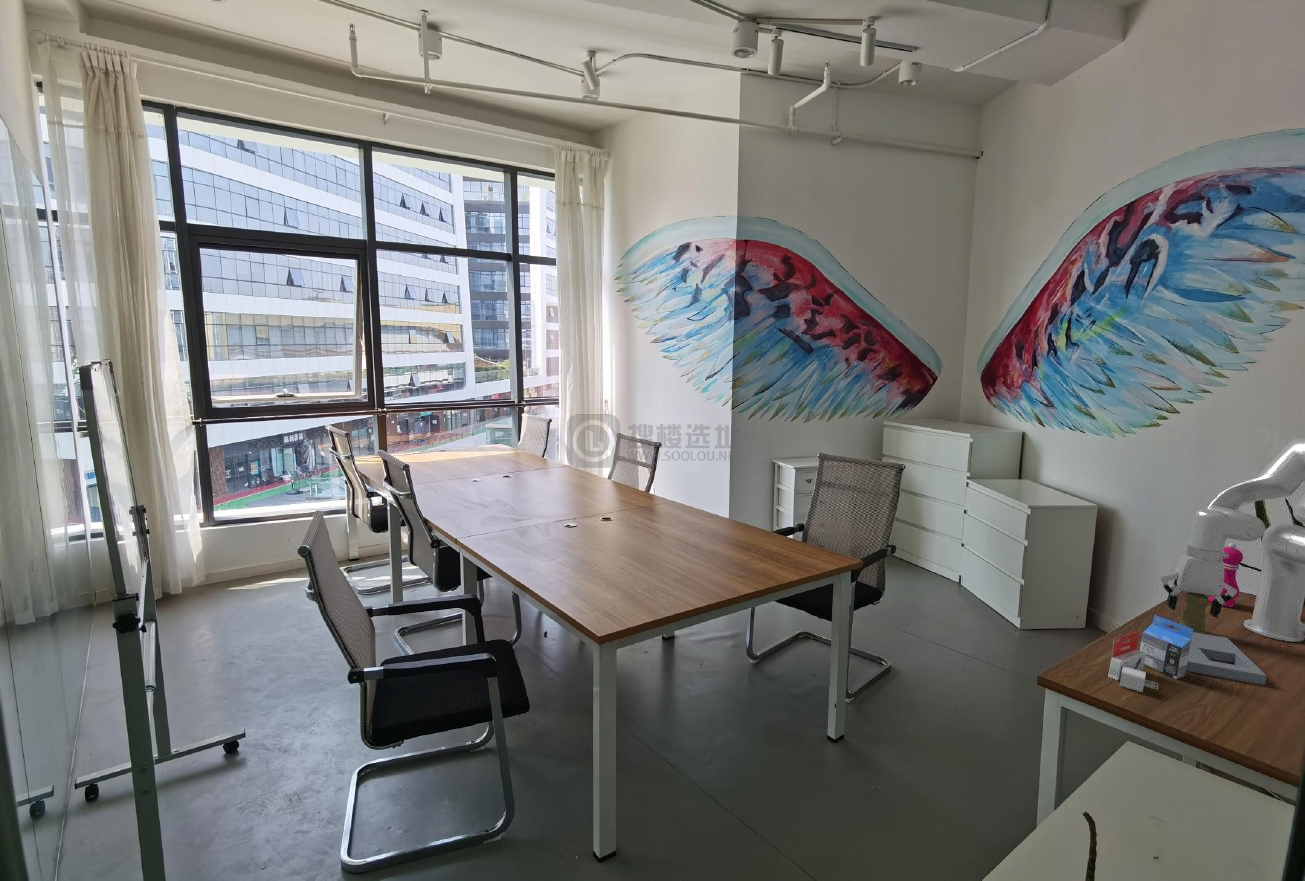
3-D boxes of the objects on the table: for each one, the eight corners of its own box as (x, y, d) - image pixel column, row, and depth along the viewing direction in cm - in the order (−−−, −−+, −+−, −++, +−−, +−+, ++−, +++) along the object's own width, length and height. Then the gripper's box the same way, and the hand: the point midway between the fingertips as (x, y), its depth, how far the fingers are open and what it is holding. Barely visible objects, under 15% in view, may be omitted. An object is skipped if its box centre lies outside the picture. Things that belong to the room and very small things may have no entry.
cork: (1172, 626, 186) (1178, 589, 184) (1191, 626, 187) (1197, 589, 185) (1191, 635, 180) (1197, 598, 178) (1210, 635, 181) (1217, 598, 179)
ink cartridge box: (1143, 672, 159) (1149, 635, 157) (1118, 682, 153) (1124, 643, 152) (1132, 667, 161) (1138, 630, 159) (1106, 677, 156) (1112, 639, 154)
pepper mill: (1242, 609, 200) (1254, 547, 197) (1215, 607, 202) (1226, 545, 199) (1227, 600, 207) (1238, 540, 204) (1201, 598, 209) (1211, 538, 206)
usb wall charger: (1120, 680, 154) (1123, 664, 153) (1157, 691, 150) (1159, 675, 149) (1119, 687, 151) (1121, 671, 150) (1156, 698, 147) (1159, 681, 146)
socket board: (1225, 646, 174) (1226, 637, 174) (1264, 685, 154) (1266, 675, 154) (1153, 634, 180) (1154, 625, 180) (1182, 670, 160) (1184, 660, 160)
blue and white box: (1136, 662, 163) (1144, 616, 161) (1145, 659, 165) (1153, 614, 163) (1176, 679, 155) (1184, 631, 153) (1185, 677, 157) (1194, 629, 155)
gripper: (1237, 555, 180) (1224, 613, 183) (1161, 544, 187) (1150, 600, 189) (1249, 563, 173) (1236, 623, 176) (1171, 552, 180) (1159, 610, 182)
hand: (1192, 611), depth 183 cm, fingers open, 9 cm apart
